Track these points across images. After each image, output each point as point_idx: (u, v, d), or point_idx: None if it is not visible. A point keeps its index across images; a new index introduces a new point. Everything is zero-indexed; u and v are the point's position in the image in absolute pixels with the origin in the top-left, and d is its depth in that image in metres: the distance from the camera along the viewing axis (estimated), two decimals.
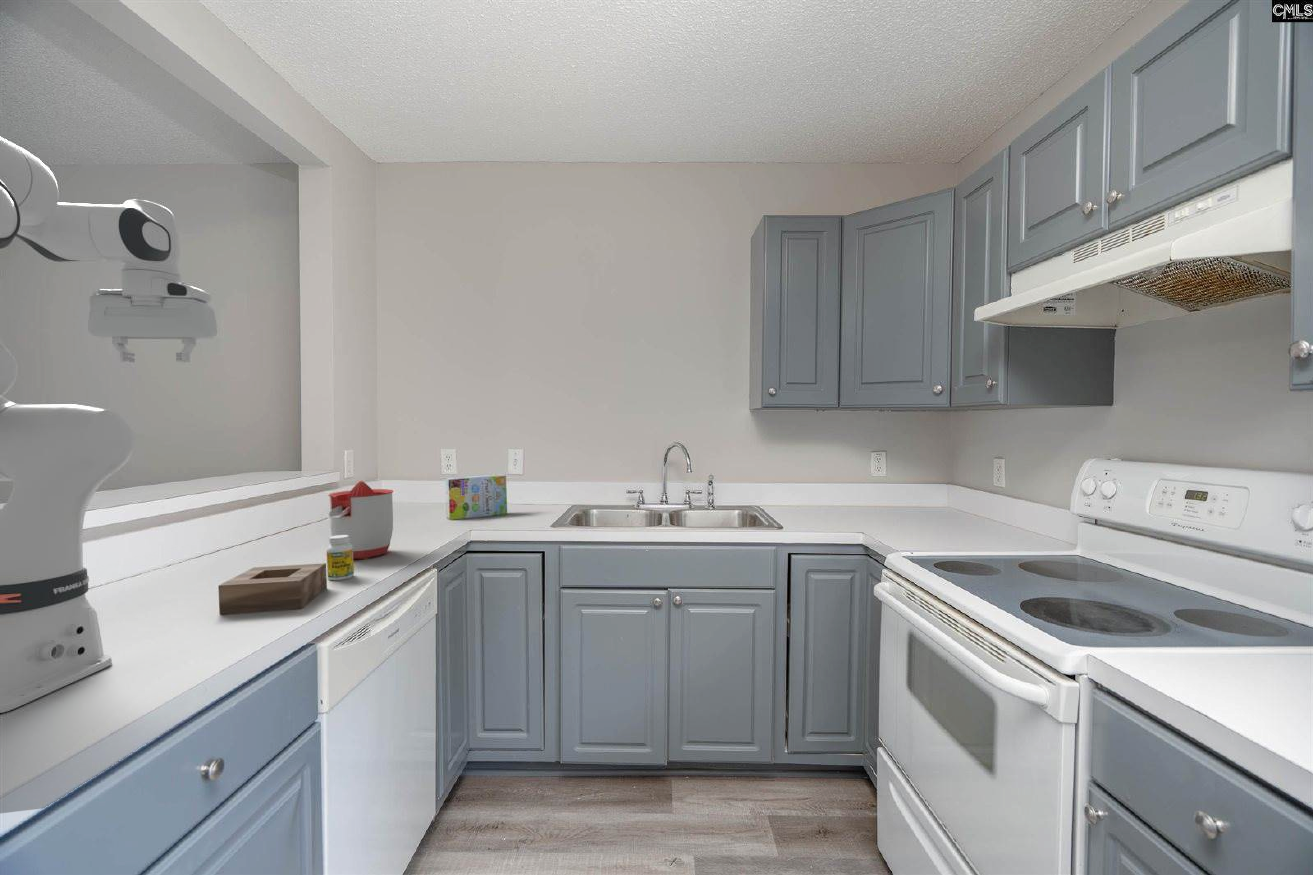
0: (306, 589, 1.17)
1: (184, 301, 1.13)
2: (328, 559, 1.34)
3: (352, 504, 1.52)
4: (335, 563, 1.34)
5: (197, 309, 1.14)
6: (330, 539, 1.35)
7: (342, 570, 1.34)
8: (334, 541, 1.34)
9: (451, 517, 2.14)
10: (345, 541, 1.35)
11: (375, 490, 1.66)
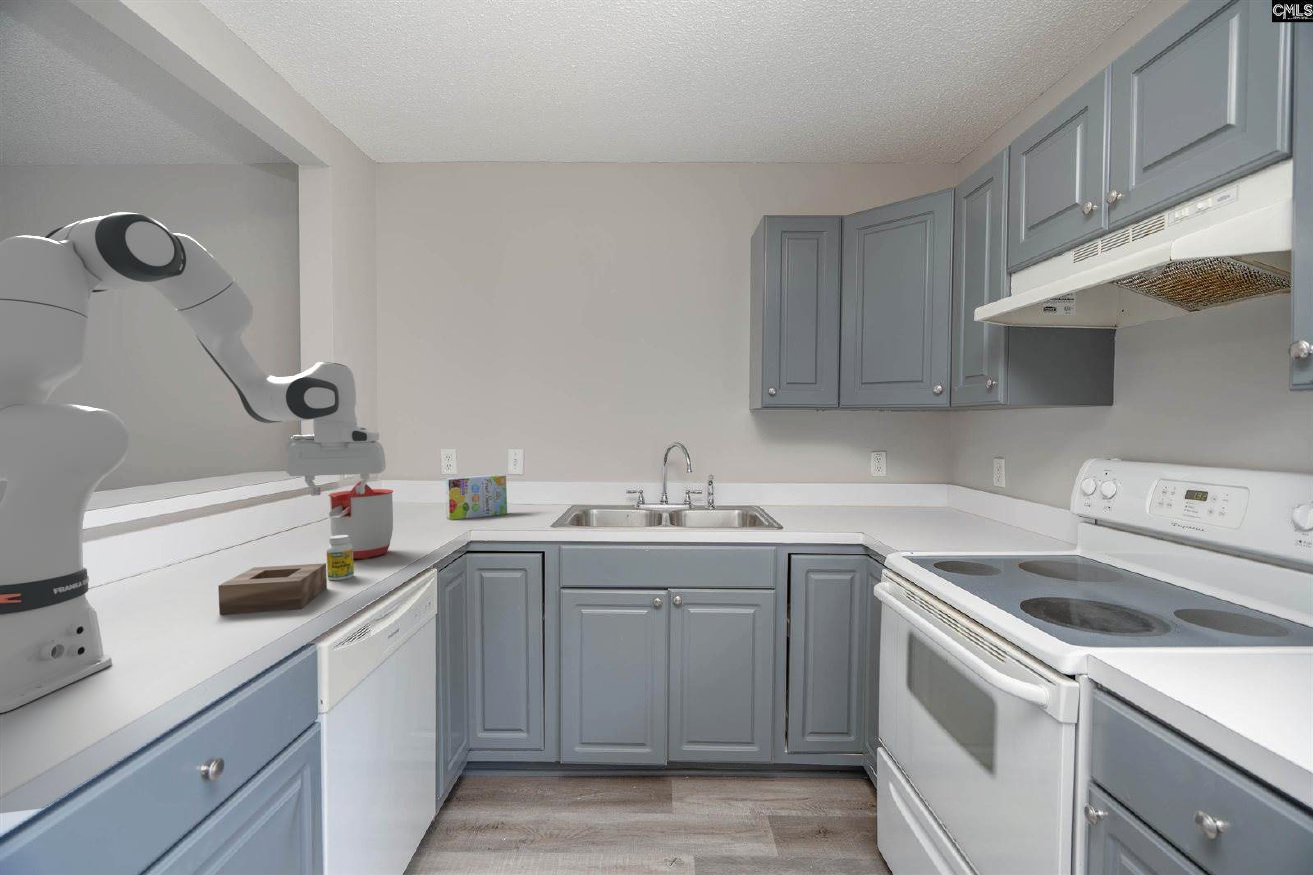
0: (306, 589, 1.17)
1: (364, 445, 1.34)
2: (328, 559, 1.34)
3: (352, 504, 1.52)
4: (335, 563, 1.34)
5: (375, 450, 1.35)
6: (330, 539, 1.35)
7: (342, 570, 1.34)
8: (334, 541, 1.34)
9: (451, 517, 2.14)
10: (345, 541, 1.35)
11: (375, 490, 1.66)
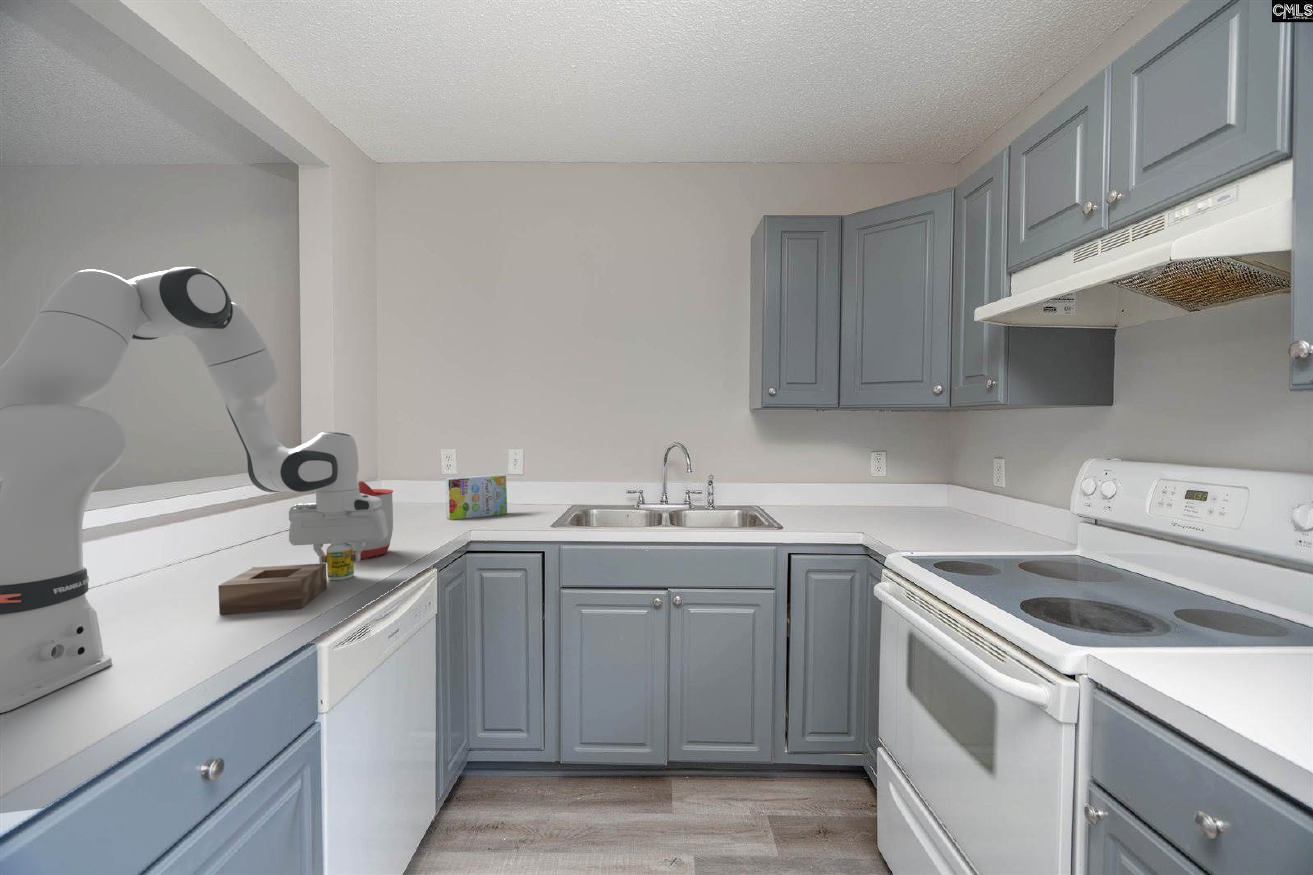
0: (306, 589, 1.17)
1: (366, 514, 1.35)
2: (328, 559, 1.34)
3: None
4: (335, 563, 1.34)
5: (377, 519, 1.35)
6: None
7: (342, 570, 1.34)
8: (334, 541, 1.34)
9: (451, 517, 2.14)
10: None
11: (375, 490, 1.66)
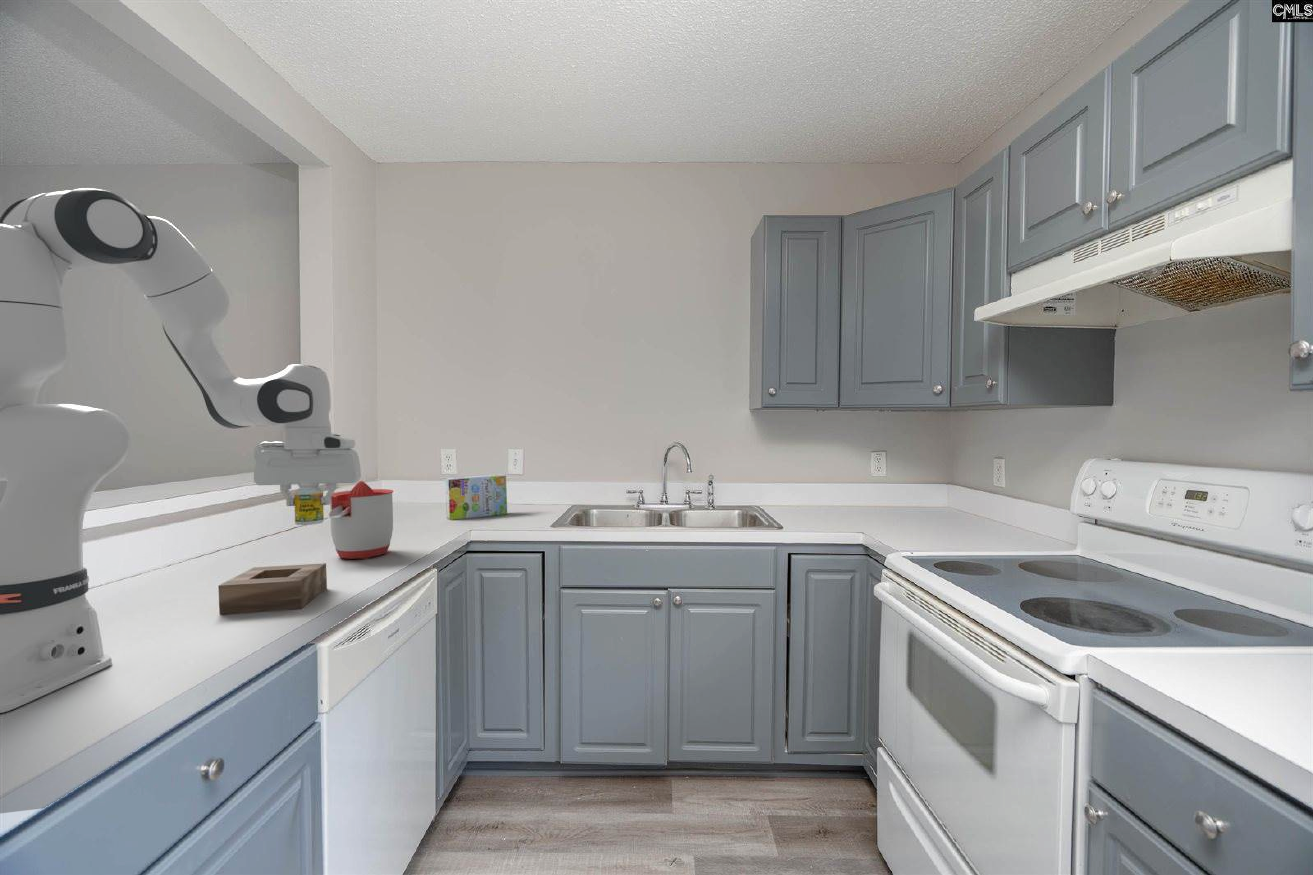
0: (306, 589, 1.17)
1: (337, 453, 1.26)
2: (296, 502, 1.26)
3: (352, 504, 1.52)
4: (303, 506, 1.25)
5: (348, 458, 1.27)
6: None
7: (310, 514, 1.26)
8: (303, 482, 1.26)
9: (451, 517, 2.14)
10: (315, 484, 1.27)
11: (375, 490, 1.66)
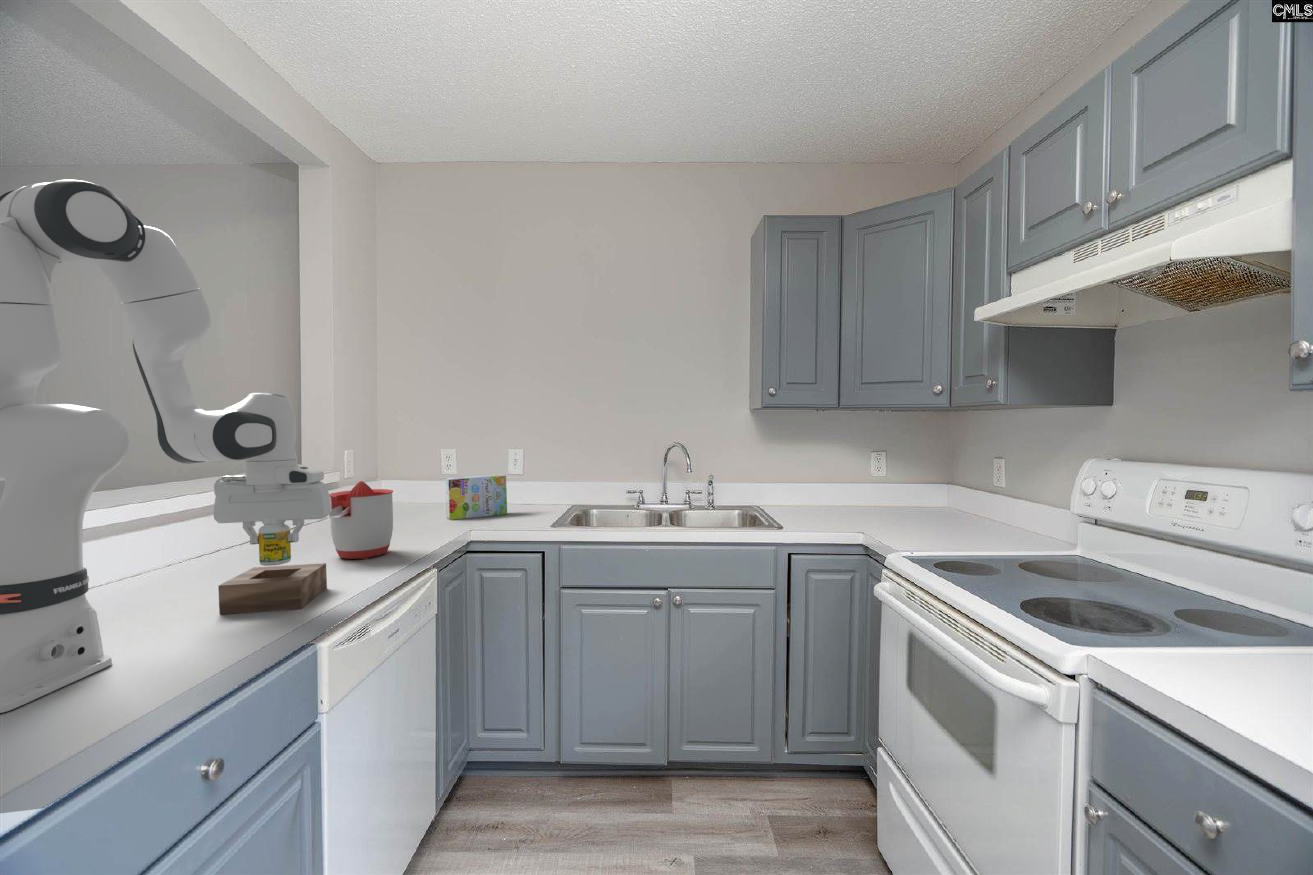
0: (306, 589, 1.17)
1: (304, 487, 1.17)
2: (260, 541, 1.17)
3: (352, 504, 1.52)
4: (267, 546, 1.16)
5: (316, 493, 1.18)
6: None
7: (275, 554, 1.17)
8: (267, 520, 1.17)
9: (451, 517, 2.14)
10: (280, 521, 1.18)
11: (375, 490, 1.66)
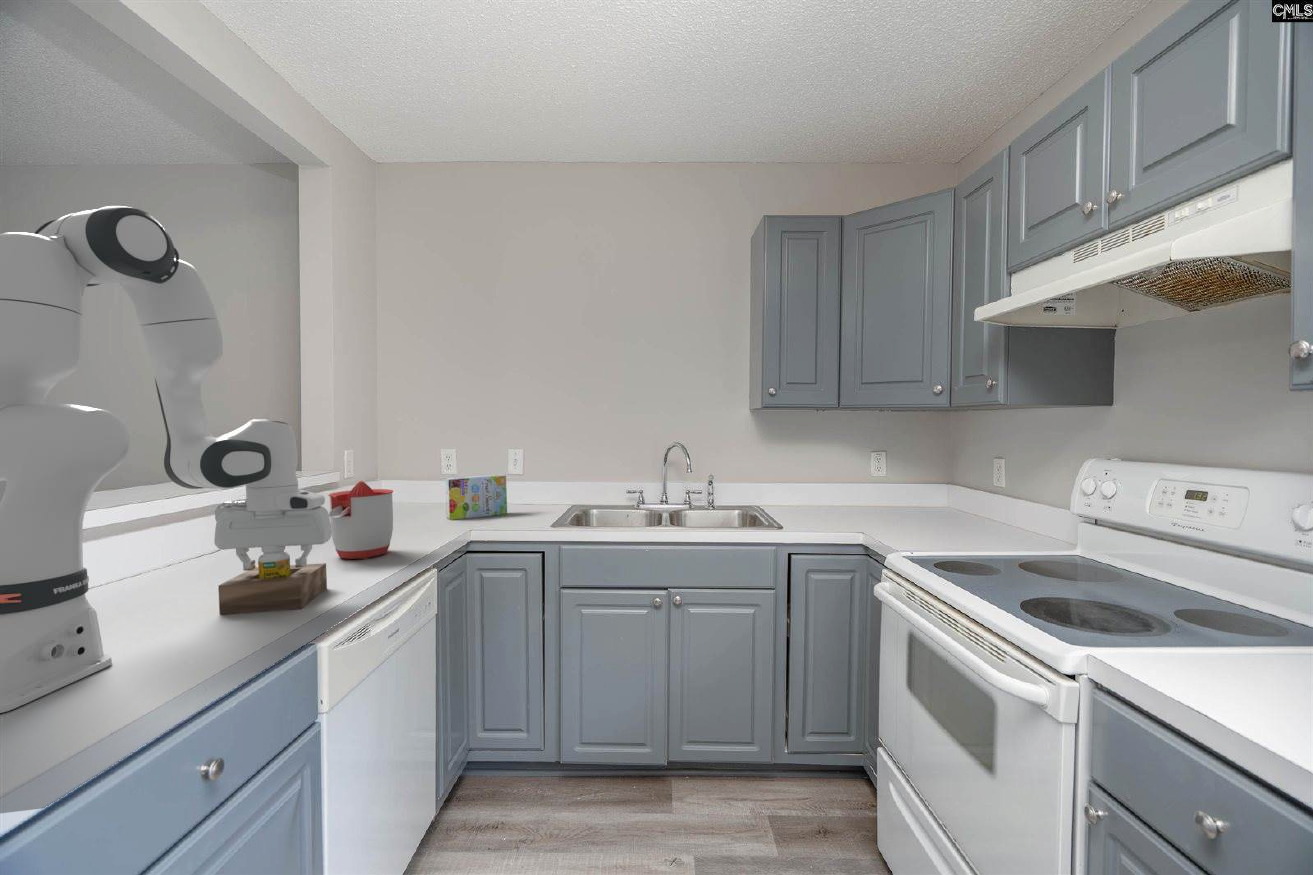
0: (306, 589, 1.17)
1: (304, 513, 1.18)
2: (260, 570, 1.17)
3: (352, 504, 1.52)
4: (267, 575, 1.17)
5: (317, 519, 1.18)
6: (262, 547, 1.17)
7: None
8: (267, 549, 1.17)
9: (451, 517, 2.14)
10: (280, 549, 1.18)
11: (375, 490, 1.66)
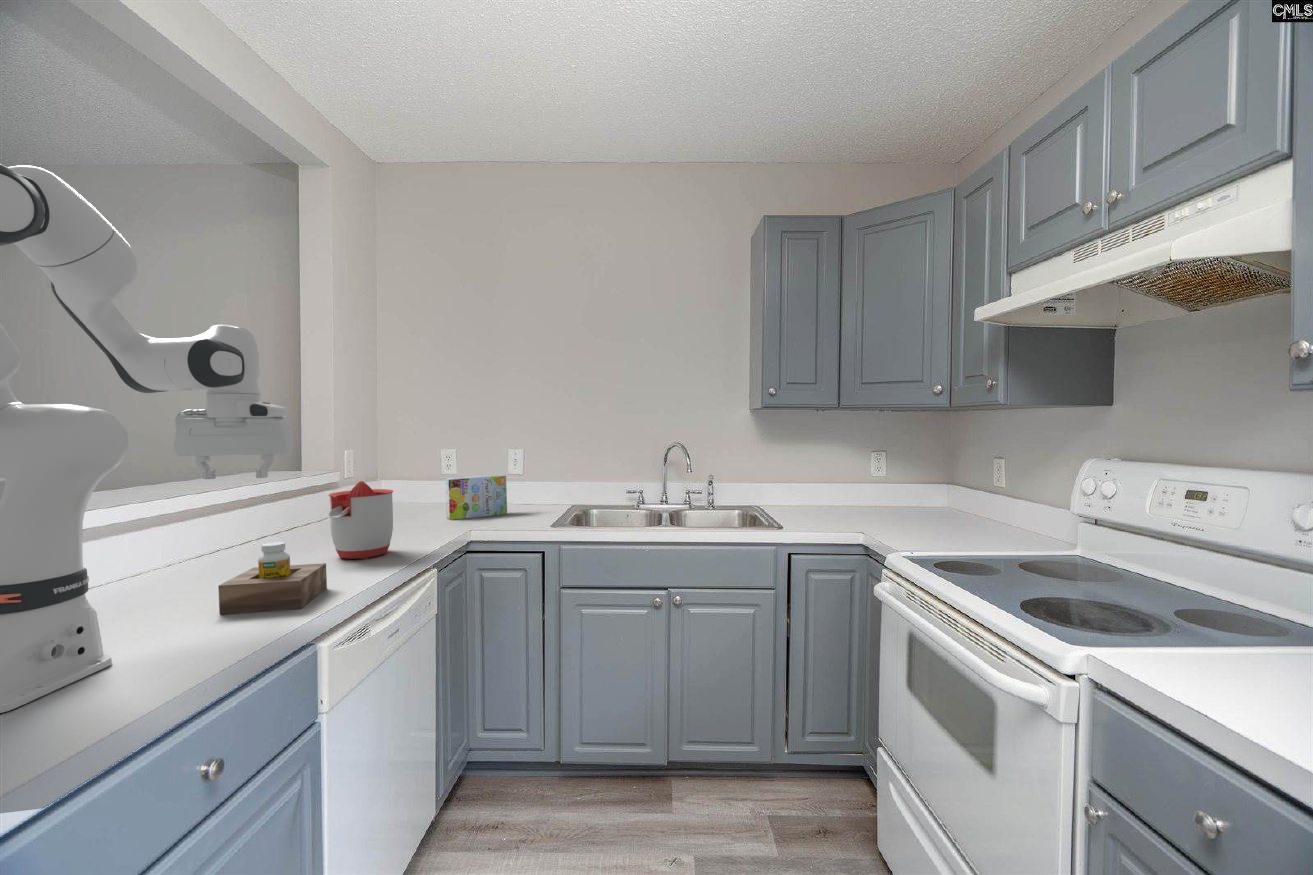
0: (306, 589, 1.17)
1: (265, 421, 1.16)
2: (260, 570, 1.17)
3: (352, 504, 1.52)
4: (267, 575, 1.17)
5: (277, 428, 1.17)
6: (262, 547, 1.17)
7: None
8: (267, 549, 1.17)
9: (451, 517, 2.14)
10: (280, 549, 1.18)
11: (375, 490, 1.66)
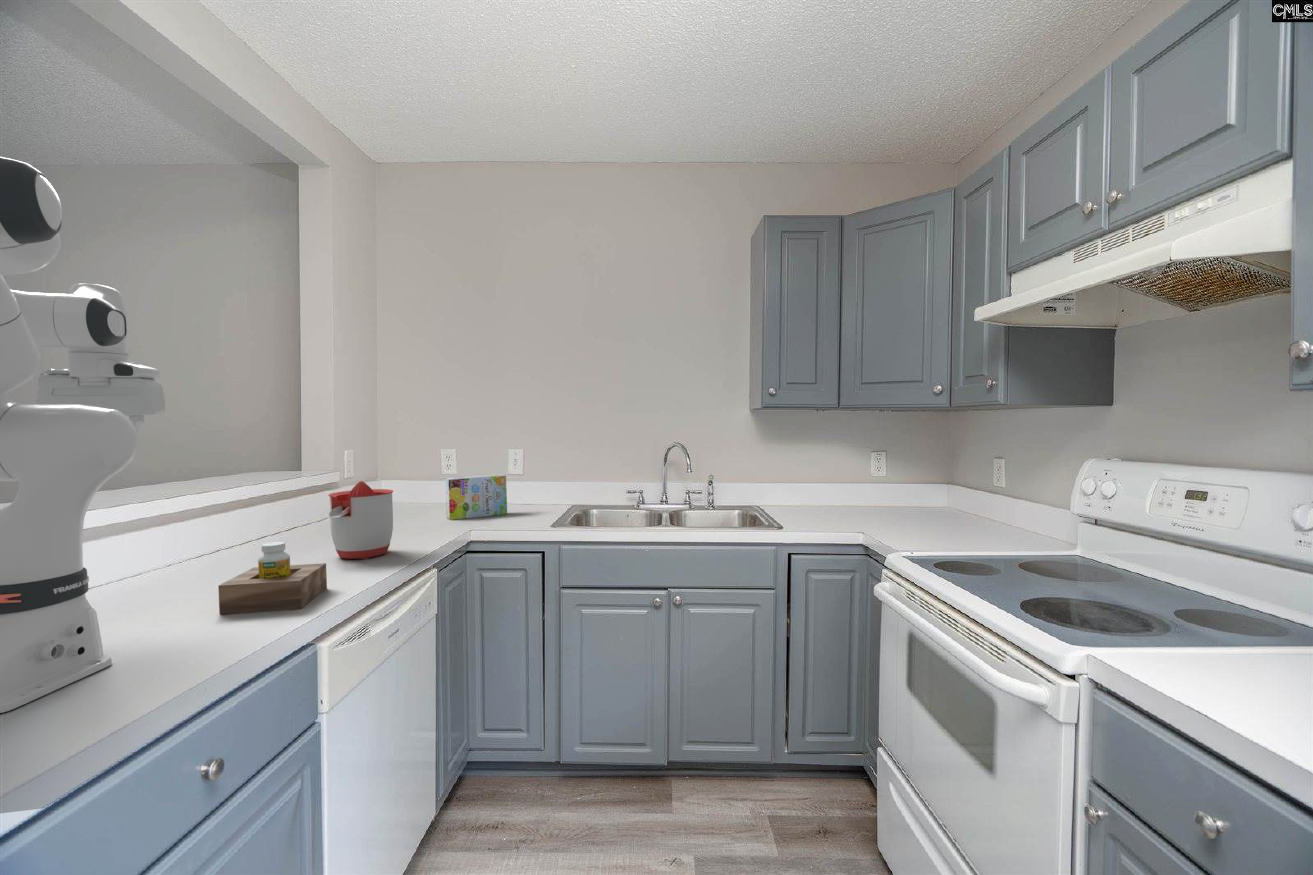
0: (306, 589, 1.17)
1: (130, 381, 1.15)
2: (260, 570, 1.17)
3: (352, 504, 1.52)
4: (267, 575, 1.17)
5: (144, 388, 1.16)
6: (262, 547, 1.17)
7: None
8: (267, 549, 1.17)
9: (451, 517, 2.14)
10: (280, 549, 1.18)
11: (375, 490, 1.66)
